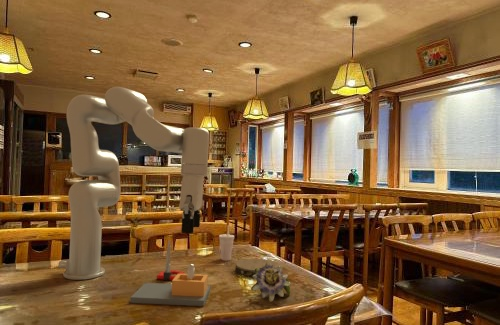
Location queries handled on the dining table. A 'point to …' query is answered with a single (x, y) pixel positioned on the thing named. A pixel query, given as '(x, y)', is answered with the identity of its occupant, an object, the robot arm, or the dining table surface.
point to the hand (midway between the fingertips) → (190, 229)
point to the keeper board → (165, 296)
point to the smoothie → (226, 245)
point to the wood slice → (252, 266)
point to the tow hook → (168, 267)
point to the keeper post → (190, 272)
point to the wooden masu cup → (189, 285)
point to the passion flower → (270, 281)
